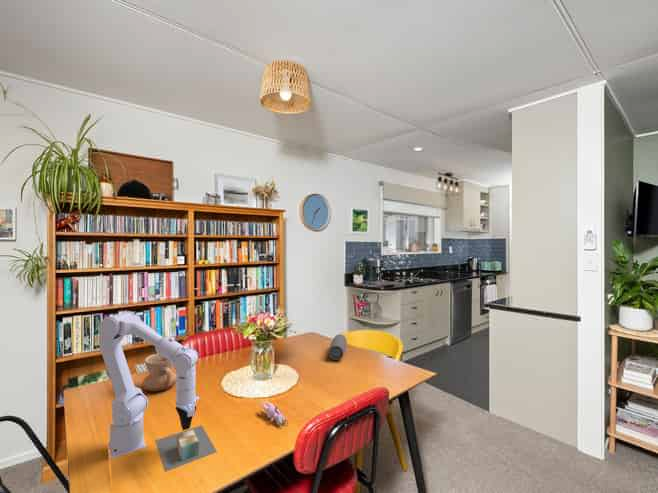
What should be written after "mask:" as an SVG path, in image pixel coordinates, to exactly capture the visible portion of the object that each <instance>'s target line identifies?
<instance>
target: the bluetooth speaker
mask: <svg viewBox="0 0 658 493" xmlns="http://www.w3.org/2000/svg"><path fill="white" fill-rule="evenodd" d="M347 343H348V342H347V337H346V336H345V335H343V334H340V333H339V334H337V335H335V336H334V337H333V339H332V341H331V343H330V346H329V350H328V353H329V354H328V355H329V357H330V358H331V359H332V360H336V361H337V360H341V359H342V357H343V356H344V354H345V352H346V350H347Z"/></svg>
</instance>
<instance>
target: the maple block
mask: <svg viewBox="0 0 658 493" xmlns="http://www.w3.org/2000/svg"><path fill="white" fill-rule="evenodd" d="M177 450H178V452H179V455H180V457H181V460H182V461H183V460H186V459H189V458H191V457H194V456H197V455H199V441H198V439H197V437H196V435H195V433H194V431H193V430H191V431H187V432H184V433H181V434H178V435H177Z"/></svg>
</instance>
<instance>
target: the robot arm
mask: <svg viewBox="0 0 658 493" xmlns="http://www.w3.org/2000/svg"><path fill="white" fill-rule="evenodd" d="M96 328H97V332H98V333H99V334H98V336H99V338H98V346H99V349H100V353H101V355H102V358H103V361H104V364H105V365H104V366H105V368H106V370H107V373H108V377H109V380H110V382H111V386H112V389H113V392H114V394H115V397H114V399H113V401H112V403H111V410H112V412H111V418H112V421H113V423H112V424H110V425H109V443H108V450H109V455H110V459H115V458H116V457H120V456H123V455H126V454H129V453H132V452H136V451H138V450H141V449H145V448H146V440H145V437H144V414H145V410H146V408H147V407H148V405H149V400H148V398H147V396H146V395H145V393H143V391H142V388H140V387H137V386H135V383H134V381H133V377H132V375H131V371H130V368H129V366H128V362H127V358H126V356H125V353H124V350H123V347H122V343H121V342H122V340H123V339H124V337H125V336H127V335H128V336H129V335H134V336H136V337H138V338H139V339H142V340H143V341H145V342H147V343H149V344H150V345H152V346H154V347H155V352H156V354H158V353H159V354H160V355H162V356H163V357H165V358H166V359H168V360H169V361H171V362H172V363H173V365H172V368H173V369H174V370H175V372H176V373H175V374H176V375H177V382H176V391H175V392H176V393H175V394H176V395H175V396H176V398H175V399H176V401H175V406H176V407H175V410H176V412H177V414H178V417H179V422H180V426H181V429H182V431H186V430H189V429H191V428H190V427H191V425H192V420H193V417H194V416H195V414H196V411H197V406H196V404H197V402H198V401H200V397H199V396H196V394H197V393H196V385H197V384H196V379H197V376H196V374H197V370H196V366H197V365H196V363H197V362H198V361H199V355H200V354H199V352H198V351H197V350H196V349H195V348H194V347H187V346H186V345H183V344H182V343H179V342H178V341H177V340H176V338H175V337H173V336H162V335H161V334H159V333H158V332H157V331H156V330H154V329H153V328H152V327H150V326H149V325H148V324H146V322H144V321H142V319H141V317H140V316H139V315H138V314H135V312H133V311H130V310H125V311H122V312H121V313H120V312H119V313H117V314H114V315H112V316H106V317H105V318H103V319H102V320H101V321H100V323H99V325H97V327H96Z"/></svg>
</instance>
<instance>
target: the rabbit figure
mask: <svg viewBox="0 0 658 493" xmlns="http://www.w3.org/2000/svg"><path fill="white" fill-rule="evenodd" d="M261 406H262V409H263V410H264V411H265V412H266V417H267V418H268V419H270V421H271V422H273V420H275V421H276V424H277V426H279V427H281V428H283V427H284V424H286V425H289V421H288V420H287V418H286V417H285V416H286V414H285V413H280V409H279V406H275V405H274V404H273V403H271V402H266V403H265V404H261Z"/></svg>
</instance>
